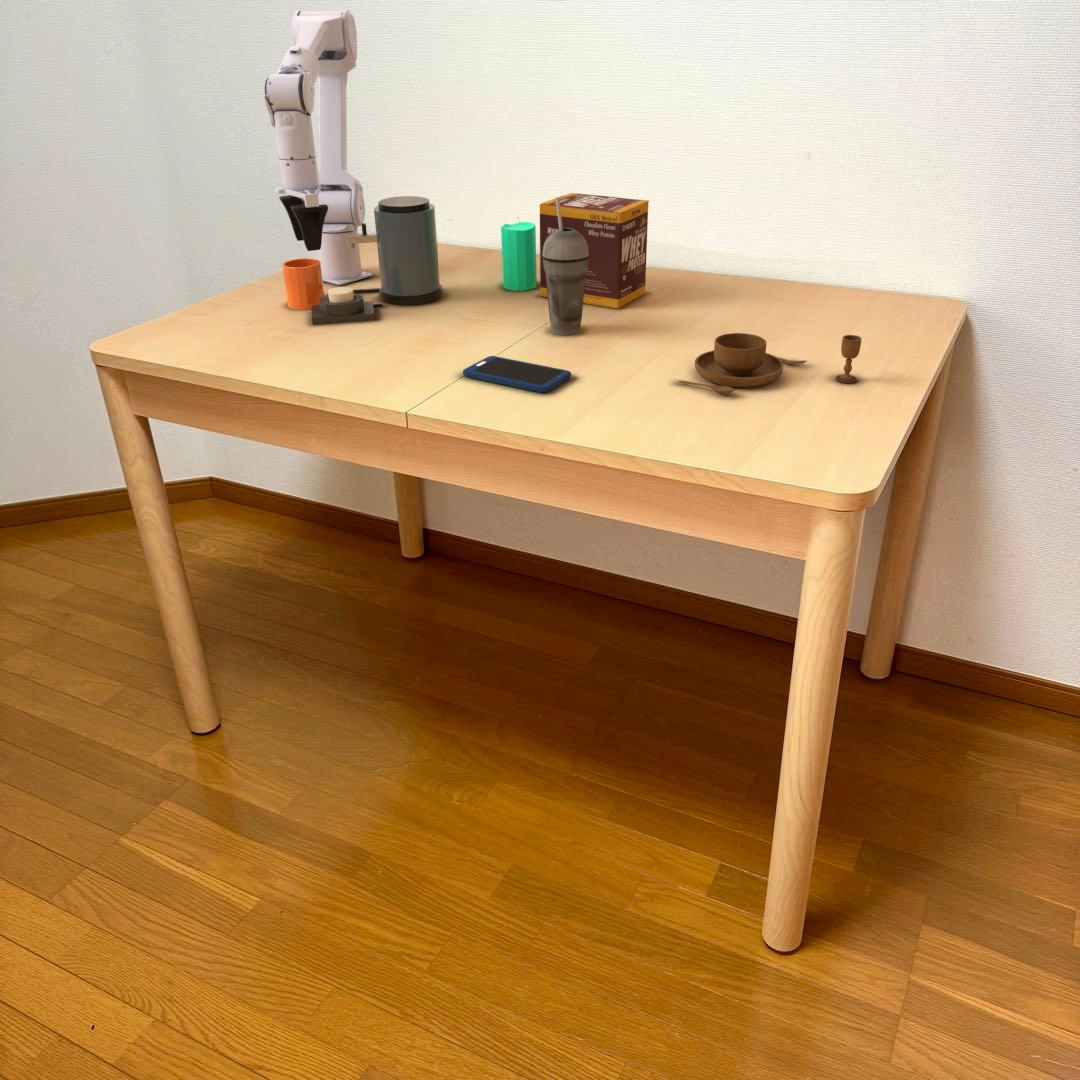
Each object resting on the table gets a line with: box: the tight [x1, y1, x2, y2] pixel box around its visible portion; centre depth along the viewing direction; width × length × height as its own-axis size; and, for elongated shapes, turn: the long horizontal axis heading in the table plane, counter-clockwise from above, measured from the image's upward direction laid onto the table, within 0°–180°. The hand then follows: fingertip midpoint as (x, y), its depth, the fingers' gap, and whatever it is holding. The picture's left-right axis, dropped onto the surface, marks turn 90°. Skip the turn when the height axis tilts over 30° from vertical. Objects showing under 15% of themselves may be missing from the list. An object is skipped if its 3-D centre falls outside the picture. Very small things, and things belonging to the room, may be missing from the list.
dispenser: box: [347, 195, 444, 309], centre depth 171 cm, size 19×11×16 cm, turn 101°
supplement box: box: [539, 192, 650, 309], centre depth 171 cm, size 10×15×16 cm
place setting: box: [677, 332, 862, 394], centre depth 136 cm, size 18×20×6 cm
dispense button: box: [327, 286, 354, 303], centre depth 165 cm, size 4×4×2 cm
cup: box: [281, 257, 326, 311], centre depth 171 cm, size 6×6×7 cm
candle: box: [500, 216, 538, 292], centre depth 177 cm, size 6×6×12 cm
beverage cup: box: [541, 196, 590, 336], centre depth 153 cm, size 7×7×20 cm
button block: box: [311, 293, 376, 326], centre depth 166 cm, size 10×7×3 cm
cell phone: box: [462, 355, 572, 394], centre depth 141 cm, size 7×14×1 cm, turn 58°
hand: (308, 244), depth 166 cm, fingers open, 7 cm apart
